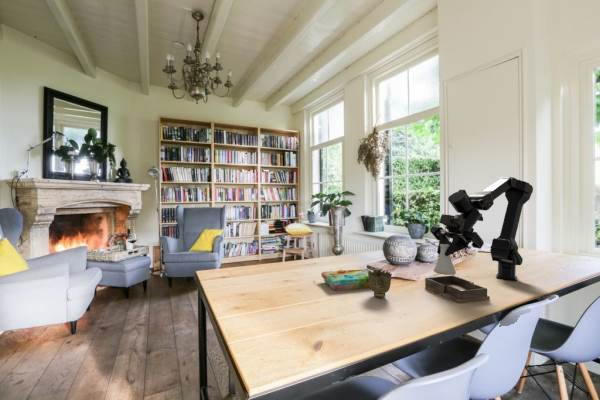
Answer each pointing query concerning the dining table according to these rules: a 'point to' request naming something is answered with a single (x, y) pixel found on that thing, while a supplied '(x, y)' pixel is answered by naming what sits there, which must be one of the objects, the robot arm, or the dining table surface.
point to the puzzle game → (347, 279)
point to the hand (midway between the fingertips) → (441, 254)
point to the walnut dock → (456, 289)
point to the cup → (379, 282)
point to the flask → (444, 262)
